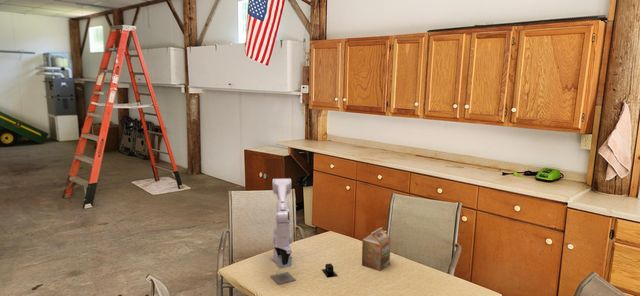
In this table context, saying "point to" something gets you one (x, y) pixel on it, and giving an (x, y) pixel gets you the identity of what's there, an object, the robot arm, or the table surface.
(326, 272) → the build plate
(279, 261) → the brick
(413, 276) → the table surface
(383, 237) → the milk carton
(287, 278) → the mat
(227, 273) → the table surface
